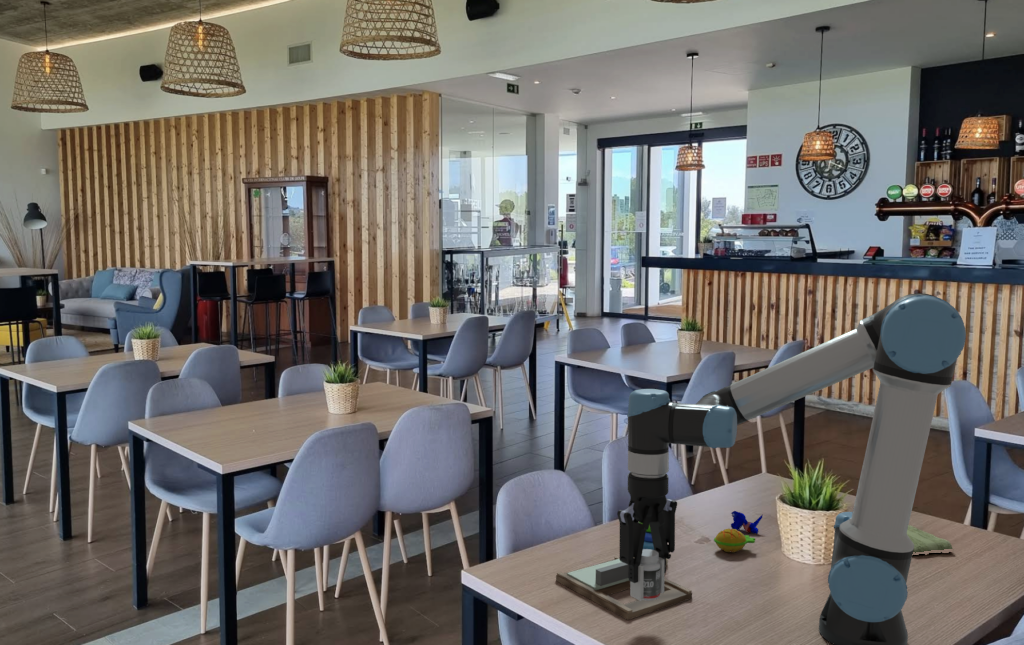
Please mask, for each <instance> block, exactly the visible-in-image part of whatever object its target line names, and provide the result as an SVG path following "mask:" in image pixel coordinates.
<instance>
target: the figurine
mask: <svg viewBox="0 0 1024 645" xmlns="http://www.w3.org/2000/svg"><path fill="white" fill-rule="evenodd" d="M730 514H731V516H732V520H733V522H731V523H730V527H731V529H736V530H738V531H739V530H740V529H741V528H742V527H743V529H744V530H745V532H746V533H748V534H751V533H752V534H755V533H756V534H755V535H758V534H759V528H757V526H758V525H759V523H760V522H761V520H762V519H763V517H764V516H763V514H761V515H760V516H759V517H758V518H757V519H755V521H754V522H751V521H748V520H747V517H746V515H745V514H744V513H742V512H738V511H737V510H734V511H733V510H732V512H731V513H730Z"/></svg>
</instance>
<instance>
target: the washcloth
mask: <svg viewBox="0 0 1024 645" xmlns="http://www.w3.org/2000/svg"><path fill="white" fill-rule="evenodd" d="M907 535H908V537H909V538H910V539H911V541H912V542H913V544H914V550H913V552H915V553H916V552H924V551H931V550H944V549H953V550H954V548H953V546H952V544H951V542H950V541H949V540H947V539H945V538H940V537H937V536H935V535H934V534H933V533H929V532H927V531H924V530H922V529H919V528H917V527H916V526H913V525H911V524H909V525H908V529H907Z"/></svg>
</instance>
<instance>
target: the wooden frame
mask: <svg viewBox="0 0 1024 645" xmlns="http://www.w3.org/2000/svg"><path fill="white" fill-rule="evenodd" d="M616 559H620V556H618V555H617V556H614V559H611V560H607V561H604V562H601V563H595V564H593V565H589V566H585V567H582V568H579V569H574V570H570V571H568V572H562V571H559V572H556V575H555V582H558V583H559V584H561V585H563V586H565V587H566V588H569V589H570V590H572V591H574V592H575V593H577V594H579V595H581V596H583V597H585V598H587V599H588V600H590V601H592V602H594V603H596V604H598V605H599V606H601V607H603V608H605V609H607V610H608V611H610V612H613V613H614V614H616V615H618V616H620V617H621V618H623V619H625V620H627V621H629V620H631V619H635V618H637V617H640V616H643V615H646V614H649V613H652V612H655V611H658V610H662V609H664V608H667V607H670V606H674V605H676V604H680V603H682V602H685V601H688V600H691V599H693V592H692V590H691V589H689V588H687V587H686V586H682V585H681V584H678V583H677V582H674V581H672V580H670V579H667V578H666V577H664V593H662V594H661V593H660V596H659V598H658V599H656V600H651V601H647V600H641V601H640V600H638V599H635V600H634V601H630V602H628V603H623V602H622V601H620V600H618V599H616V598H614V597H612V596H610V595H613V594H617V593H619V592H622V591H627V590H629V589H630V581H626V582H622V583H619V584H616V585H612V586H609V587H605V588H602V589H599V590H594V589H592V588H590V587H588V586H586V585H584V584H583V583H581V582H579V581H577V580H575V579H573V578H571V577H569V576H567V573H569V572H573V571H576V570H580V569H584V568H587V567H591V566H594V565H598V564H602V563H605V562H609V561H613V560H616Z"/></svg>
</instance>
